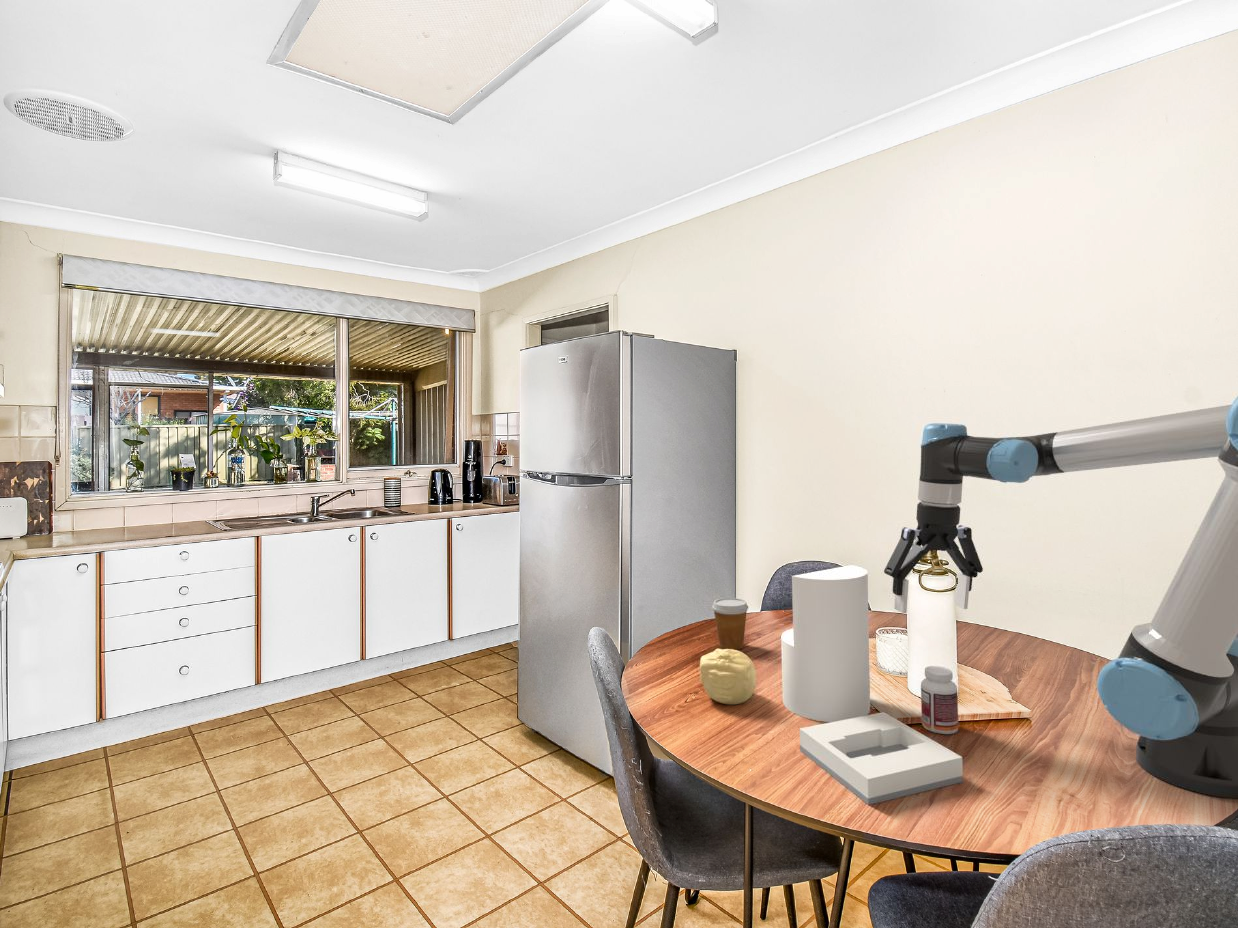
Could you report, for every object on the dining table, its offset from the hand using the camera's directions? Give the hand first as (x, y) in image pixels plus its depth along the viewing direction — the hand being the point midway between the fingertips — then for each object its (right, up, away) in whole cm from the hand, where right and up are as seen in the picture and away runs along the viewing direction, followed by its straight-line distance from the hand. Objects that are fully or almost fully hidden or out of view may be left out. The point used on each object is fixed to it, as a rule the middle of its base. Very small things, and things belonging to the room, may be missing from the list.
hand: (930, 608), depth 126 cm
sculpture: (-38, -22, +11) cm, 45 cm away
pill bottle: (-1, -21, -6) cm, 22 cm away
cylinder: (-19, -21, +6) cm, 29 cm away
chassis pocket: (-18, -22, -19) cm, 34 cm away
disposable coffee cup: (-32, -20, +44) cm, 58 cm away
